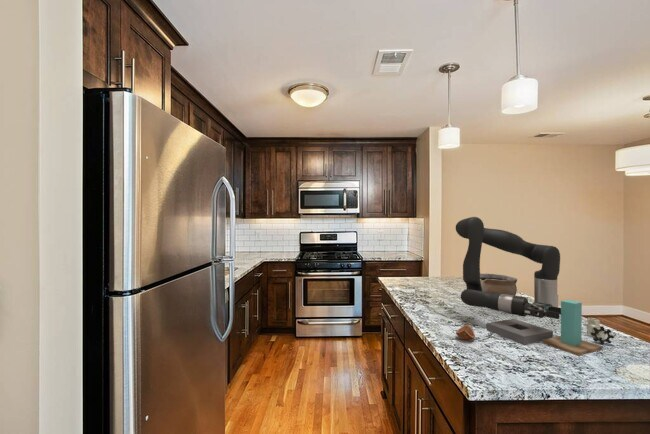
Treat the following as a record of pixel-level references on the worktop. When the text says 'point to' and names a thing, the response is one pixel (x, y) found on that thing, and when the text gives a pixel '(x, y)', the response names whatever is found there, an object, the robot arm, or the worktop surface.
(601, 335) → the valve
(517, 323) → the grey square socket plate
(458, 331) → the fruit slice
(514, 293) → the ceramic bowl
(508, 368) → the worktop surface
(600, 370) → the worktop surface
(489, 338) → the worktop surface
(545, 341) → the board
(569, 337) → the plug
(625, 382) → the worktop surface
